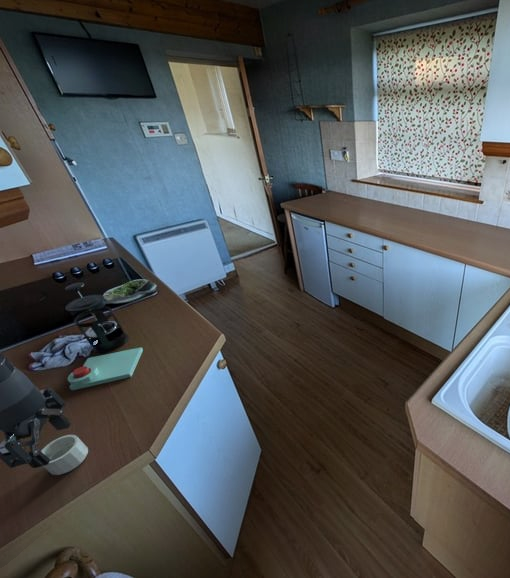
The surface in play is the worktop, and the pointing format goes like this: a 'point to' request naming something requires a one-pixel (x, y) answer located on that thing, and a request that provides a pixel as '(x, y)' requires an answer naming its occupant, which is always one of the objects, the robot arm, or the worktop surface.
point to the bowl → (64, 454)
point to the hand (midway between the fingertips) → (54, 445)
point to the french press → (97, 321)
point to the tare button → (81, 372)
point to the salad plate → (130, 291)
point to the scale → (107, 368)
